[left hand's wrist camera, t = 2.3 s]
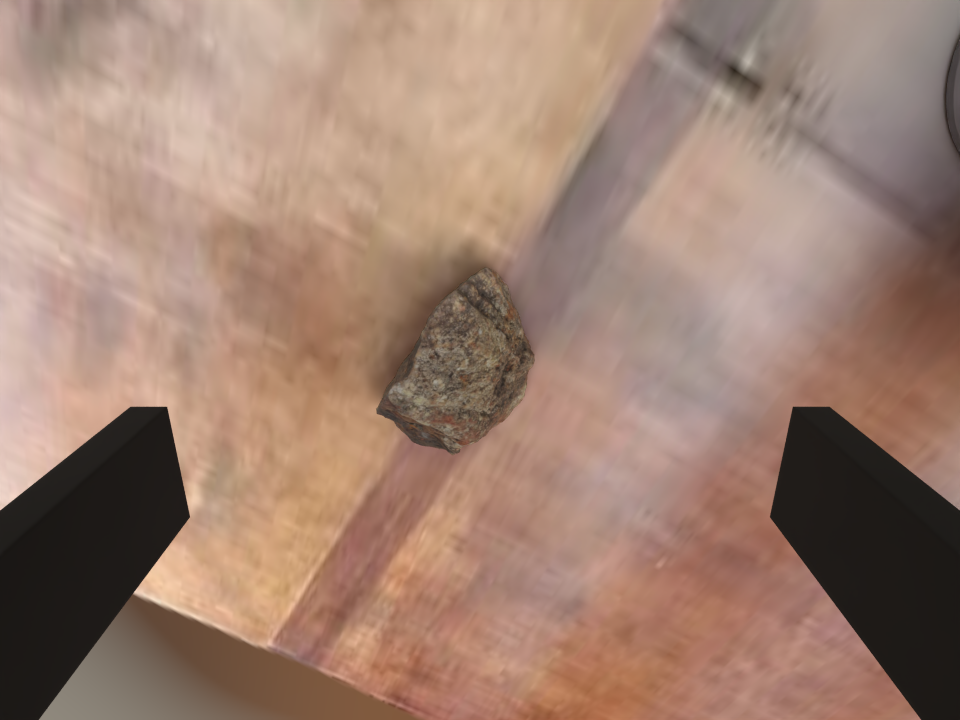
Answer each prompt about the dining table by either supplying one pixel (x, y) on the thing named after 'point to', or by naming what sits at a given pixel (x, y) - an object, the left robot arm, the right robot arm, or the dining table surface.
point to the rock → (462, 368)
